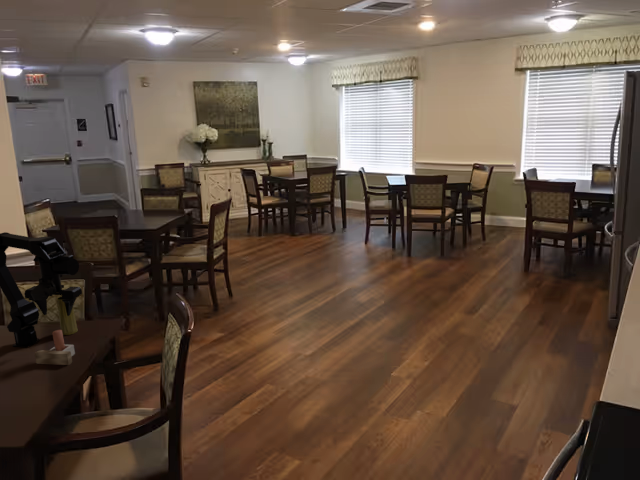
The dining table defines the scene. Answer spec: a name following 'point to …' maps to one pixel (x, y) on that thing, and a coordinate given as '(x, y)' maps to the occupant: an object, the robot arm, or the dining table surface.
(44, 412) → the dining table surface
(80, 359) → the dining table surface
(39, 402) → the dining table surface
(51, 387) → the dining table surface
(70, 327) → the olive ribbed cylinder
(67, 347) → the socket block
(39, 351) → the backstop
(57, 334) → the peg
